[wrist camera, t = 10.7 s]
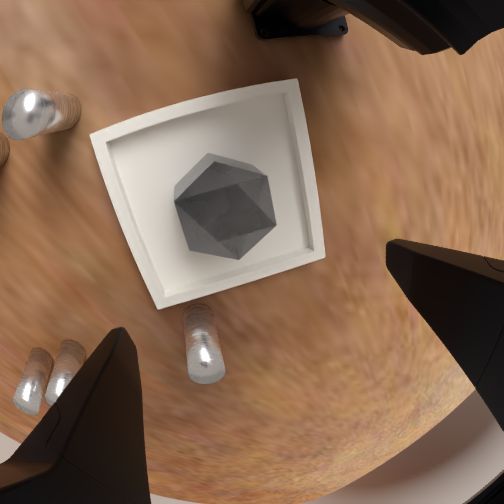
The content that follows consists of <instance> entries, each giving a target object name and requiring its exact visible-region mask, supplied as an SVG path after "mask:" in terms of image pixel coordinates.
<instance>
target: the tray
mask: <svg viewBox="0 0 504 504" xmlns="http://www.w3.org/2000/svg"><path fill="white" fill-rule="evenodd" d="M90 138H91V141H92V145H93V148H94V151H95V154H96V157H97V161H98V164H99V167H100V170H101V173H102V176H103V179H104V182H105V184H106V187H107V190H108V193H109V196H110V198H111V201H112V204H113V207H114V209H115V212H116V214H117V217H118V220H119V222H120V225H121V227H122V230H123V232H124V235H125V237H126V240H127V242H128V245H129V247H130V249H131V252H132V254H133V256H134V259H135V261H136V263H137V266H138V268H139V270H140V272H141V275H142V277H143V279H144V281H145V283H146V286H147V288H148V290H149V292H150V294H151V296H152V298H153V301H154V303H155V305H156V307H157V309H158V310H159V309H162V308H166V307H169V306H172V305H176V304H179V303H183V302H186V301H189V300H193V299H196V298H199V297H203V296H206V295H209V294H213V293H216V292H219V291H222V290H226V289H229V288H232V287H235V286H239V285H242V284H245V283H248V282H251V281H255V280H258V279H261V278H264V277H267V276H270V275H273V274H277V273H280V272H283V271H286V270H289V269H292V268H295V267H298V266H301V265H304V264H307V263H310V262H313V261H316V260H319V259H322V258H325V247H324V238H323V230H322V222H321V214H320V206H319V199H318V191H317V184H316V178H315V171H314V165H313V158H312V152H311V146H310V140H309V135H308V129H307V124H306V118H305V113H304V108H303V103H302V98H301V93H300V88H299V83H298V78H296V79H289V80H282V81H275V82H269V83H263V84H258V85H252V86H247V87H242V88H237V89H233V90H228V91H224V92H219V93H215V94H211V95H207V96H203V97H199V98H195V99H191V100H188V101H184V102H181V103H177V104H174V105H170V106H167V107H164V108H161V109H157V110H154V111H151V112H148V113H145V114H142V115H139V116H136V117H134V118H131V119H128V120H125V121H123V122H120V123H117V124H115V125H112V126H109V127H107V128H104V129H102V130H99V131H97V132H95V133H92V134H90ZM207 153H211V154H215V155H219V156H223V157H226V158H230V159H234V160H237V161H241V162H244V163H248V164H251V165H253V166H255V167H256V168H257V169H259V170H260V171H261V172H263V173H264V174H265V175H267V176H268V181H269V187H270V192H271V197H272V202H273V208H274V213H275V219H276V224H277V226H276V227H274V228H273V229H272V230H271V231H270V232H269V233H268V234H267V235H266V236H265V237H264V238H263V239H261V240H260V241H259V242H258V243H257V244H256V245H255V246H254V247H253V248H252V249H251V250H250V251H248V252H247V253H246V254H245V255H244V256H243V257H242V258H241V259H240V260H236V259H231V258H225V257H220V256H215V255H210V254H205V253H200V252H194V251H189V248H188V245H187V242H186V239H185V236H184V233H183V229H182V226H181V223H180V220H179V217H178V213H177V210H176V207H175V204H174V187H175V185H176V184H177V183H178V182H179V181H180V180H181V179H182V178H183V177H184V176H185V175H186V174H187V173H188V172H189V171H190V170H191V169H192V168H193V167H194V166H195V165H196V164H197V163H198V162H199V161H200V160H201V159H202V158H203V157H204V156H205V155H206V154H207Z"/></svg>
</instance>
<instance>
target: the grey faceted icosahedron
mask: <svg viewBox="0 0 504 504" xmlns="http://www.w3.org/2000/svg"><path fill="white" fill-rule="evenodd" d="M174 204H175V207H176V210H177V213H178V217H179V220H180V223H181V226H182V229H183V233H184V236H185V239H186V242H187V245H188V248H189V251H194V252H200V253H205V254H210V255H215V256H220V257H225V258H231V259H236V260H240V259H241V258H242V257H243V256H244V255H245V254H246V253H247V252H248V251H250V250H251V249H252V248H253V247H254V246H255V245H256V244H257V243H258V242H259V241H260V240H261V239H263V238H264V237H265V236H266V235H267V234H268V233H269V232H270V231H271V230H272V229H273V228H274V227H276V226H277V224H276V219H275V213H274V208H273V202H272V197H271V192H270V187H269V181H268V176H267V175H265V174H264V173H263V172H261V171H260V170H259V169H257V168H256V167H255V166H253V165H251V164H248V163H244V162H241V161H237V160H234V159H230V158H226V157H223V156H219V155H215V154H211V153H207V154H206V155H205V156H204V157H203V158H202V159H201V160H200V161H199V162H198V163H197V164H196V165H195V166H194V167H193V168H192V169H191V170H190V171H189V172H188V173H187V174H186V175H185V176H184V177H183V178H182V179H181V180H180V181H179V182H178V183H177V184H176V185H175V187H174Z"/></svg>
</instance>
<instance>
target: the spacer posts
mask: <svg viewBox="0 0 504 504" xmlns="http://www.w3.org/2000/svg"><path fill="white" fill-rule="evenodd" d="M80 113H81V105H80V102H79V100H78V98H77V97H75V96H74V95H72V94H67V93H59V92H51V91H41V90H30V89H23V90H20V91H18V92H16V93H14V94H13V95H12V96H11V97H10V98H9V100H8V101H7V103H6V105H5V107H4V110H3V114H2V125H3V128H4V131H5V133H6V134H7V135H8V136H9V137H10V138H12V139H14V140H23V139H27V138H31V137H35V136H39V135H44V134H48V133H53V132H57V131H62V130H67V129H69V128H71V127H72V126H74V125H75V123H76V122H77V121H78V119H79V117H80ZM8 154H9V142H8V139H7V138H6V136H5V135H4V134H2V133H0V165H2V164H3V163H4V162H5V161H6V159H7V157H8ZM183 322H184V334H185V346H186V356H187V366H188V375H189V377H190V379H191V380H193V381H194V382H196V383H199V384H211V383H215V382H217V381H219V380H220V379H222V378H223V377H224V375H225V372H226V370H225V365H224V361H223V356H222V352H221V347H220V343H219V338H218V334H217V329H216V325H215V320H214V315H213V312H212V310H211V309H210V308H209V307H208V306H206V305H203V304H195V305H192V306H190V307H188V308H187V309H186V310H185V312H184V314H183ZM84 357H85V349H84V348H83V346H82V345H81V344H79V343H78V342H76V341H73V340H65V341H63V342H62V344H61V346H60V349H59V352H58V355H57V358H56V361H55V364H54V367H53V371H52V374H51V377H50V381H49V384H48V387H47V391H46V395H45V400H46V402H47V403H48V404H49V405H50V406H52V405H53V404H54V402H56V400H57V398H58V397H59V396H60V394H61V393H62V392H63V390H64V389H65V388H66V386H67V385H68V384H69V382H70V381H71V380H72V378H73V377H74V376H75V375H76V373H77V372H78V371H79V369H80V368H81V367H82V366H83V362H84ZM52 363H53V359H52V357H51V355H50V354H49V353H48V352H47V351H45V350H44V349H41V348H33V349H32V350H31V353H30V355H29V357H28V360H27V362H26V365H25V368H24V370H23V373H22V376H21V378H20V381H19V384H18V387H17V389H16V392H15V395H14V398H13V402H14V404H15V405H16V407H18V408H19V409H20V410H21V411H23V412H25V413H27V414H31V415H36V414H38V411H39V408H40V404H41V400H42V396H43V393H44V389H45V386H46V382H47V379H48V376H49V373H50V369H51V366H52Z"/></svg>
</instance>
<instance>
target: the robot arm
mask: <svg viewBox="0 0 504 504" xmlns="http://www.w3.org/2000/svg"><path fill="white" fill-rule="evenodd" d="M242 3H243V7H244V10H245V12H246V13H247V14H250V15H251V19H252V23H253V27H254V31H255V35H256V37H257V38H258V39H259V40H262V41H266V40H275V39H285V38H296V37H312V36H341V35H345V34H346V33H347V32H348V27H347V23H346V19H345V15H347V14H349V13H350V14H352V15H354V16H355V17H357V18H358V19H360V20H362V21H363V22H365V23H366V24H368V25H370V26H371V27H373V28H374V29H376V30H377V31H379V32H380V33H381V34H383V35H384V36H386V37H387V38H389V39H390V40H391V41H393V42H394V43H396V44H397V45H398V46H400V47H401V48H405V49H409V50H412V51H417V52H418V53H419V54H421V55H426V54H433V53H438V52H441V51H444V50H446V49H449V48H451V47H452V48H453V49H454V50H455V51H456V52H457V53H458V54H459V55H463V54H464V53H465V52H466V51H467V50H469V49H470V48H471V47H472V46H473V45H474V44H475V43H476V42H477V41H478V40H480V39H481V38H483V37H485V36H486V35H488V34H490V33H491V32H494V31H496V30H499V29H502V28H504V0H242ZM339 26H340V27H341V28H342V31H340V30H339ZM262 30H263V31H266V32H267V36H263V35H262V34H261V31H262ZM386 266H387V269H388V270H389V272H390V273H391V275H392V276H393V278H394V279H395V280H396V282H397V283H398V285H399V286H400V288H401V289H402V291H403V292H404V294H405V295H406V297H407V298H408V300H409V301H410V302H411V303H412V305H413V306H414V307H415V308H416V310H417V311H418V312H419V313H420V315H421V316H422V317H423V318H424V320H425V321H426V322H427V323H428V325H429V326H430V327H431V328H432V330H433V331H434V332H435V333H436V335H437V336H438V337H439V339H440V340H441V341H442V343H443V344H444V345H445V347H446V348H447V349H448V351H449V352H450V353H451V355H452V356H453V357H454V359H455V360H456V361H457V363H458V364H459V365H460V367H461V368H462V370H463V371H464V372H465V374H466V375H467V377H468V378H469V380H470V381H471V382H472V384H473V385H474V387H475V388H476V390H477V391H478V393H479V394H480V396H481V397H482V399H483V400H484V402H485V403H486V405H487V406H488V408H489V409H490V411H491V412H492V414H493V416H494V417H495V419H496V421H497V422H498V424H499V425H500V427H501V429H502V430H503V431H504V261H503V260H499V259H494V258H489V257H485V256H484V257H483V256H480V255H476V254H471V253H466V252H462V251H457V250H452V249H448V248H443V247H438V246H433V245H428V244H423V243H418V242H413V241H408V240H402V239H394V240H391V241H389V242H387V244H386ZM0 504H151V499H150V492H149V483H148V475H147V465H146V454H145V442H144V426H143V405H142V388H141V380H140V372H139V364H138V356H137V349H136V346H135V344H134V342H133V341H132V339H131V338H130V336H129V334H128V333H127V331H126V329H125V328H124V327H118V328H115V329H112V330H111V331H110V332H109V333H108V334H107V336H106V337H105V338H104V339H103V340H102V342H101V343H100V344H99V345H98V347H97V348H96V349H95V350H94V352H93V353H92V354H91V355H90V357H89V358H88V359H87V360H86V362H85V363H84V364H83V366H82V367H81V368H80V369H79V371H78V372H77V373H76V375H75V376H74V377H73V378H72V380H71V381H70V382H69V384H68V385H67V386H66V388H65V389H64V390H63V392H62V393H61V394H60V396H59V397H58V398H57V400H56V402H54V404H53V405H52V406H51V408H50V409H49V410H48V412H47V413H46V414H45V416H44V417H43V418H42V420H41V421H40V422H39V423H38V425H37V426H36V427H35V428H34V429H33V431H32V432H31V433H30V434H29V435H28V437H27V438H26V439H25V440H24V442H23V443H22V444H21V445H20V446H19V448H18V449H17V450H16V451H15V452H14V454H13V455H12V456H11V457H10V458H9V459H8V460H6V461H5V462H3V463H1V464H0ZM463 504H504V470H503V471H502V472H500V473H499V474H498V475H497V476H496V477H495V478H494V479H493V480H492V481H491V482H489V483H488V484H487V485H486V486H485V487H483V489H481V490H480V491H479V492H477V493H476V494H475V495H474V496H473V497H471V498H470V499H469V500H467V501H466V502H465V503H463Z"/></svg>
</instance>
